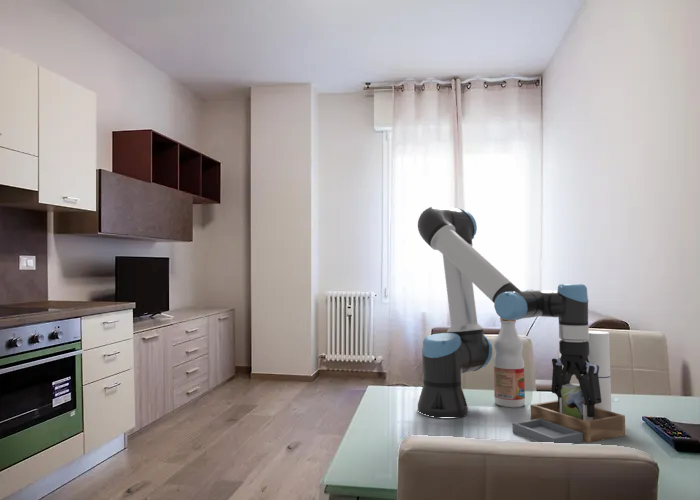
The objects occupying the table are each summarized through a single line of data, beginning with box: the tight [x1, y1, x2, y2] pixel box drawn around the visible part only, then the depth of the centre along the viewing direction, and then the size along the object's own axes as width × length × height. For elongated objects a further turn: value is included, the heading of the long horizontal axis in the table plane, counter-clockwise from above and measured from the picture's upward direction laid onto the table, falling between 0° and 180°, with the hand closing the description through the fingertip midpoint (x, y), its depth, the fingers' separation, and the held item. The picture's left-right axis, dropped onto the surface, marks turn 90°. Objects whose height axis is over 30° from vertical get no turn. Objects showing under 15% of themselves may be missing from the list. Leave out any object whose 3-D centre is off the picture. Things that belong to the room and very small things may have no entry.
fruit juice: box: [493, 316, 526, 408], centre depth 163 cm, size 9×9×28 cm
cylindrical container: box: [586, 330, 612, 412], centre depth 146 cm, size 7×7×25 cm
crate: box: [530, 399, 626, 444], centre depth 137 cm, size 19×14×5 cm
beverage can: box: [561, 382, 585, 420], centre depth 137 cm, size 6×7×12 cm
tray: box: [512, 418, 584, 444], centre depth 130 cm, size 14×10×2 cm
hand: (576, 424), depth 137 cm, fingers closed on beverage can, 7 cm apart
